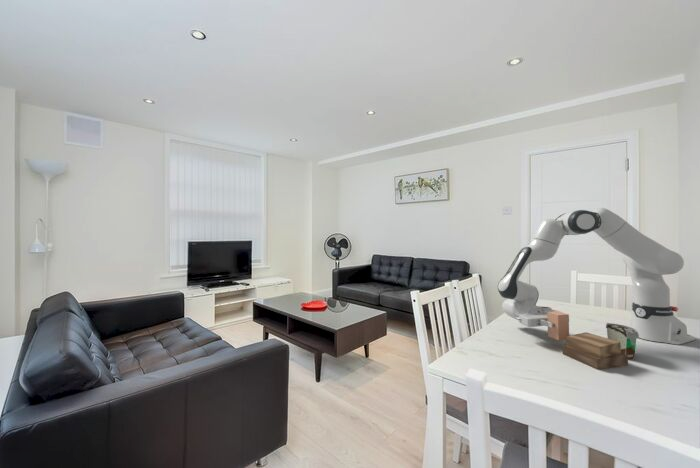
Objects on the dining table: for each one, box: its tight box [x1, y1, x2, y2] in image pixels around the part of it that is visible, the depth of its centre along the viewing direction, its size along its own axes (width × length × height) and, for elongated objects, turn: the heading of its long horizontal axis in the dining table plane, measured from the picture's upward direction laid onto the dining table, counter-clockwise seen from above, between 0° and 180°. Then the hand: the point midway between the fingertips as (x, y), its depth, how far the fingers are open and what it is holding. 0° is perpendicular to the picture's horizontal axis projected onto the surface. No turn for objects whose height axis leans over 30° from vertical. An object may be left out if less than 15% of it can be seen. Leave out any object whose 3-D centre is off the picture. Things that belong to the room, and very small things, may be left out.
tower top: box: [566, 331, 621, 359], centre depth 107 cm, size 11×11×4 cm
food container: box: [605, 322, 640, 360], centre depth 111 cm, size 12×6×10 cm, turn 168°
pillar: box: [547, 310, 570, 341], centre depth 119 cm, size 5×5×10 cm
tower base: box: [562, 344, 629, 370], centre depth 107 cm, size 13×13×4 cm
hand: (560, 324), depth 118 cm, fingers closed on pillar, 5 cm apart
